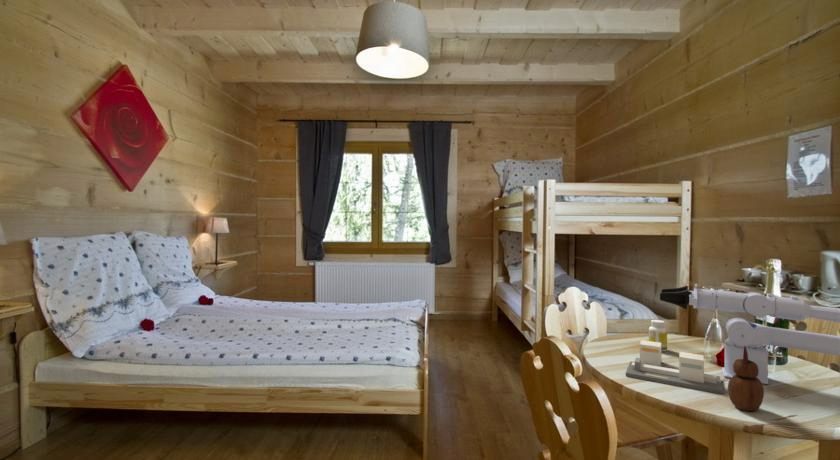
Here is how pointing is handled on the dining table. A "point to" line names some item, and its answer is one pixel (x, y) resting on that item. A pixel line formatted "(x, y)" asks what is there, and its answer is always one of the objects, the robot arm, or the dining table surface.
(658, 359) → the block
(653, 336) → the supplement bottle
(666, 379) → the rail
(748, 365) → the wooden figurine
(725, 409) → the dining table surface
